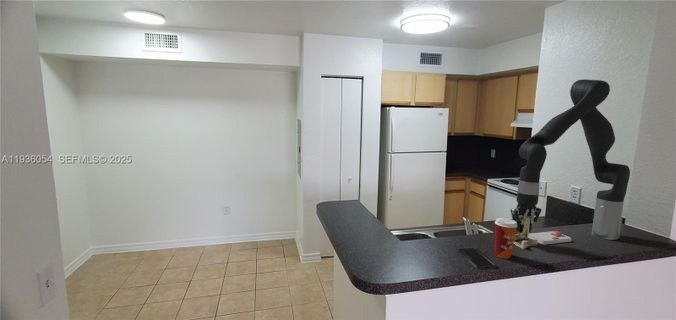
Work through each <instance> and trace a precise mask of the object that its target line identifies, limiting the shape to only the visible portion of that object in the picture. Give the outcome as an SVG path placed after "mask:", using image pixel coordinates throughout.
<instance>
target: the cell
mask: <svg viewBox="0 0 676 320" xmlns="http://www.w3.org/2000/svg"><path fill="white" fill-rule="evenodd" d="M521 216H522V215H521ZM522 217H523V216H522ZM520 221H521V218H520ZM529 226H530V217H529V216H527V217H526V219H525V220H524V223H523V233H519V232H518V234H519V235H520V236H524V238H525V237H527V238H528V235H529V234H530V232H529Z"/></svg>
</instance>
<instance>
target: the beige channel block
mask: <svg viewBox="0 0 676 320" xmlns="http://www.w3.org/2000/svg"><path fill="white" fill-rule="evenodd" d="M518 240H521V243H520V242H519V241H518ZM514 244H515V246H517V247H518V248H521V249H522V250H525V249H526V248H527V249H530V247H533V246H538V244H539V242H538V240H536V239H535V240H532V239H527V240H525V237H524V236H520V235H519V233H515V239H514Z"/></svg>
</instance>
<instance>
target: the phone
mask: <svg viewBox="0 0 676 320" xmlns="http://www.w3.org/2000/svg"><path fill="white" fill-rule="evenodd" d="M458 252H459V253H460V255H461V256H463V258H465V259H466V260H467V261H468V262H469V263H470V264H471V265H472V266H473V267H474V268H476V269H479V270H481V269H485V270H486V269H487V270H488V269H497V267H498V265H497V264H496V263H495V262H494V261H492V260H491V259H490V258H489V257H488V256H486V255H485V254H484V253H483V252H481V251H480V250H479V249H478V248H473V247H471V248H458Z"/></svg>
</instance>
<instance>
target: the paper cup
mask: <svg viewBox="0 0 676 320" xmlns="http://www.w3.org/2000/svg"><path fill="white" fill-rule="evenodd" d="M494 224H495V228H494V229H495V230H494V231H495V232H494V235H495V236H494V255H495V256H496V257H497V258H500V259H505V260H506V259H507V260H509V259H511V258H512V255H513V249H514V239H515V234H517V233H516V232H517V223H516V221H514V220H513V219H511V218H507V217H497V218H496V219H495V221H494Z"/></svg>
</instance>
